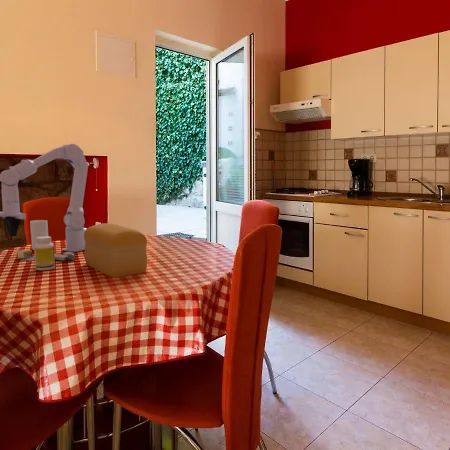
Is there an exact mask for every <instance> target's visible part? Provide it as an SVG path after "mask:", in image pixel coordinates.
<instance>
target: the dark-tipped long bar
mask: <svg viewBox="0 0 450 450" xmlns="http://www.w3.org/2000/svg"><path fill="white" fill-rule="evenodd" d="M54 255H58V256H65V257H67V260H66V261H67V262H69V263H70V262H72V263H73V262H75V260H76V259H75V253H73V254H70V255H65V254H60V253H55V252H54Z"/></svg>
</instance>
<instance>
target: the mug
mask: <svg viewBox="0 0 450 450" xmlns="http://www.w3.org/2000/svg"><path fill="white" fill-rule="evenodd" d="M29 226H30V228H29V229H30V237H31V250H33V251H34V246H35V244H37V242H36V238H37V237H41V236H49V227H48V220H47V219H46V220H45V219H37V220H36V219H35V220H30V222H29Z"/></svg>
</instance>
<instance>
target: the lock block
mask: <svg viewBox="0 0 450 450" xmlns="http://www.w3.org/2000/svg"><path fill="white" fill-rule="evenodd" d="M32 250H33V249H27V248H25V249H21V250H17V258H19V257H20V258H27V257H33V252H32Z"/></svg>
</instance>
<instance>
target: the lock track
mask: <svg viewBox="0 0 450 450" xmlns="http://www.w3.org/2000/svg"><path fill="white" fill-rule="evenodd" d="M17 260H23V261H28V262H35V256H32V257H27V258H20V257H17Z"/></svg>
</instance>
